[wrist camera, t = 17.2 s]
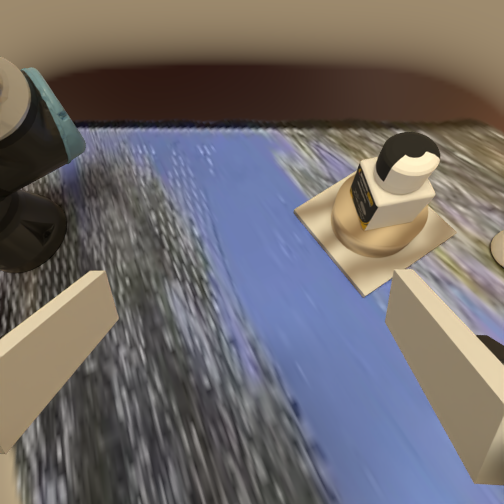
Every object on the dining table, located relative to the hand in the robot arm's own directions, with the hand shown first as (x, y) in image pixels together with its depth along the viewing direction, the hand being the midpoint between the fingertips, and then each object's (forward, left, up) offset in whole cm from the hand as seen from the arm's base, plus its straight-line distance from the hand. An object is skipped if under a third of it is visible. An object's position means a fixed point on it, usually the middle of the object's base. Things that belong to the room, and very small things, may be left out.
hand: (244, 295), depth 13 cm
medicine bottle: (-7, +24, -25) cm, 36 cm away
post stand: (-7, +25, -31) cm, 40 cm away
